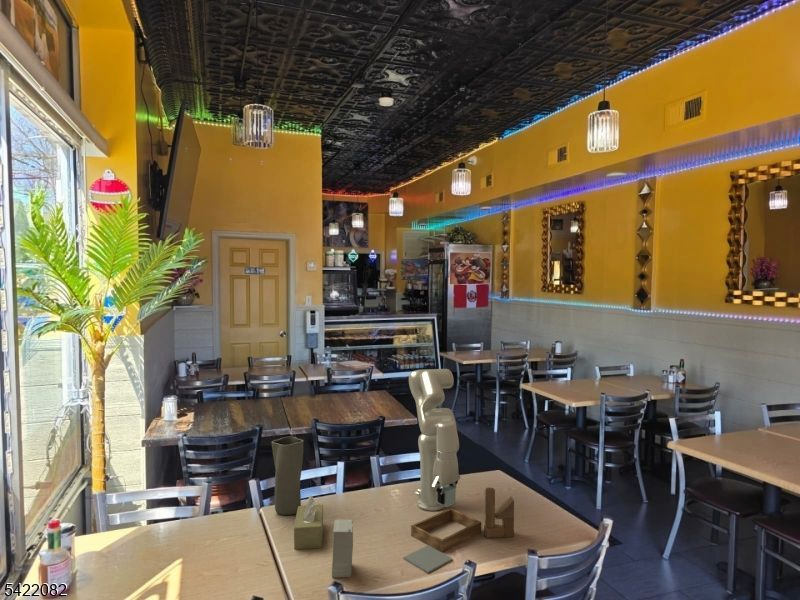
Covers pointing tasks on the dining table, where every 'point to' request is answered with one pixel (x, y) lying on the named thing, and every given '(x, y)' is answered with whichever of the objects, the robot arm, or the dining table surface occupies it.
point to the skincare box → (342, 548)
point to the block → (449, 495)
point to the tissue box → (308, 526)
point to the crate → (444, 544)
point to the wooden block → (498, 516)
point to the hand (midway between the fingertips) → (446, 500)
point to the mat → (427, 559)
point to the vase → (287, 474)
